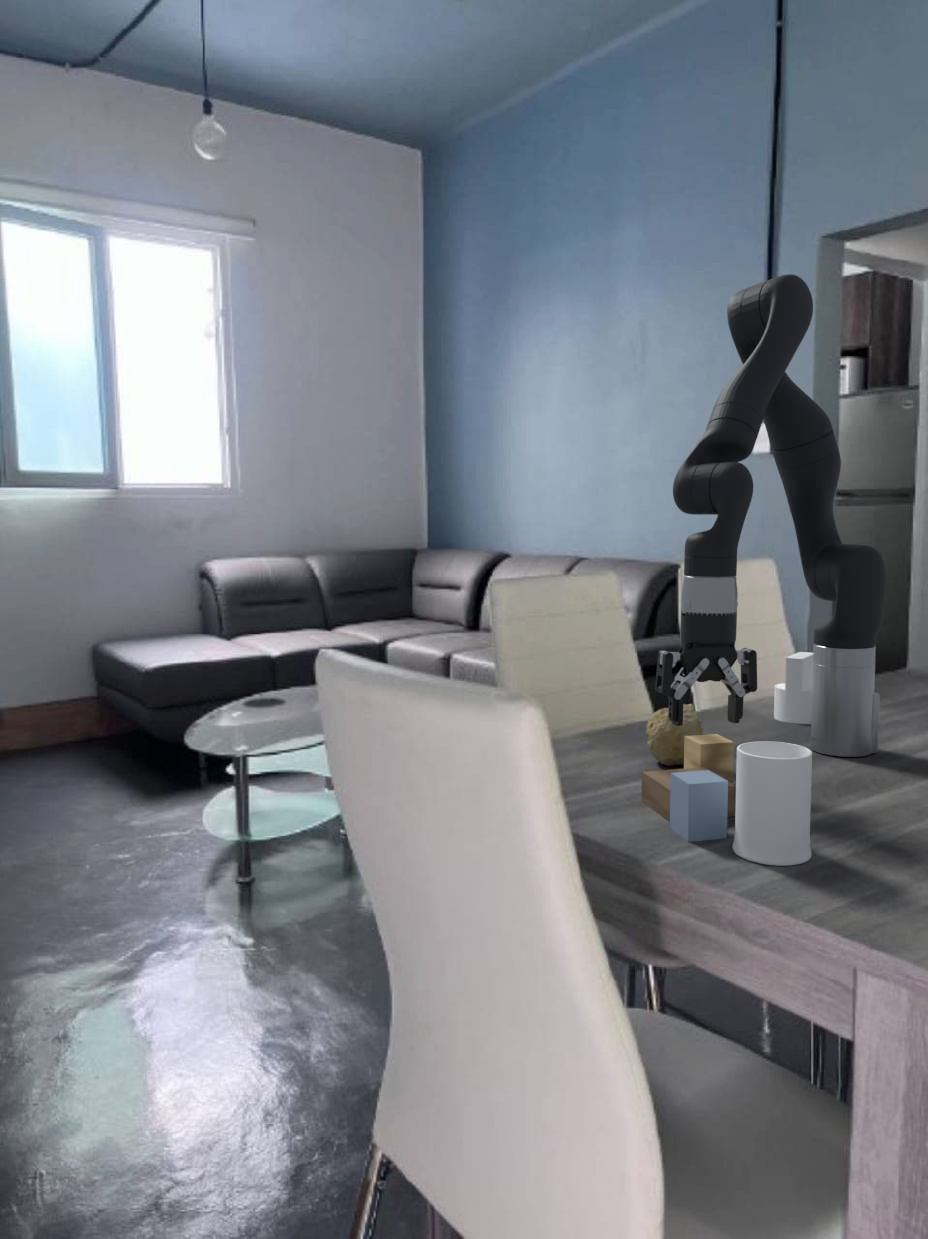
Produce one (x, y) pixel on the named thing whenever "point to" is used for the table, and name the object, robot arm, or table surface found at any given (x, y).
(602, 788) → the table surface
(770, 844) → the mug
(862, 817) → the table surface
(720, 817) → the slate block
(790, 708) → the base with upright slab
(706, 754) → the oak block
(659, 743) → the coral
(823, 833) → the table surface
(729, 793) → the walnut slab
